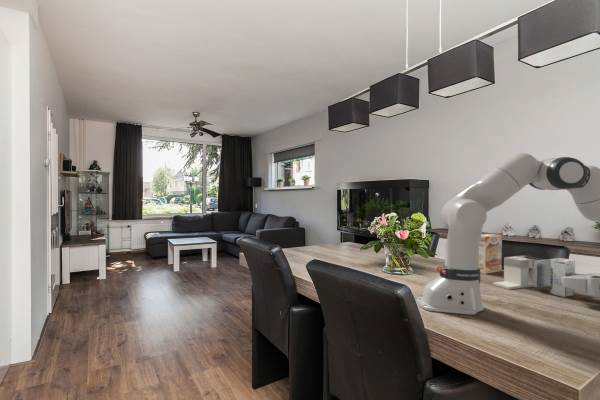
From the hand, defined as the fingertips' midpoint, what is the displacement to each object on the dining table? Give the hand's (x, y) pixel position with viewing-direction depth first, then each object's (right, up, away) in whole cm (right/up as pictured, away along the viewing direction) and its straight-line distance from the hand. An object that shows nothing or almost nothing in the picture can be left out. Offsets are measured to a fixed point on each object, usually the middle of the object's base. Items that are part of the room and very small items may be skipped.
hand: (565, 276), depth 132 cm
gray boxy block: (-4, -6, +12) cm, 14 cm away
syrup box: (0, -8, +1) cm, 8 cm away
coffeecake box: (-6, -8, +44) cm, 45 cm away
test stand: (-6, -8, +17) cm, 20 cm away
